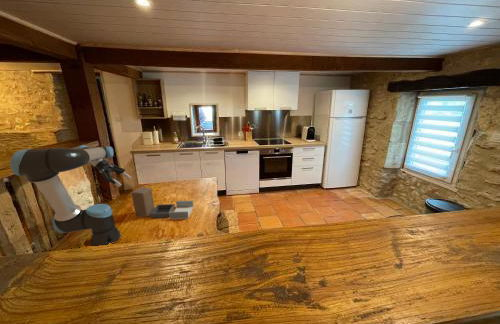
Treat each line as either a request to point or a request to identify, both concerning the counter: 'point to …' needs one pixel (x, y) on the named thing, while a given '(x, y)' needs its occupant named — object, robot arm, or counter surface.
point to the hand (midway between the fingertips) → (125, 182)
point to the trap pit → (162, 211)
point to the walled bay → (182, 210)
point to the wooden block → (143, 201)
